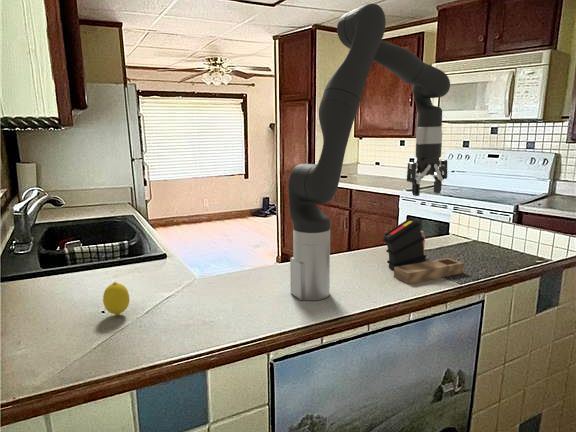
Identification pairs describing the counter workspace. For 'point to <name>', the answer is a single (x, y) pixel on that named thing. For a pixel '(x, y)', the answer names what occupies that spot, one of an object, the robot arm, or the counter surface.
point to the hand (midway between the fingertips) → (426, 194)
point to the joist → (428, 270)
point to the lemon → (116, 298)
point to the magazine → (405, 244)
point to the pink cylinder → (424, 237)
